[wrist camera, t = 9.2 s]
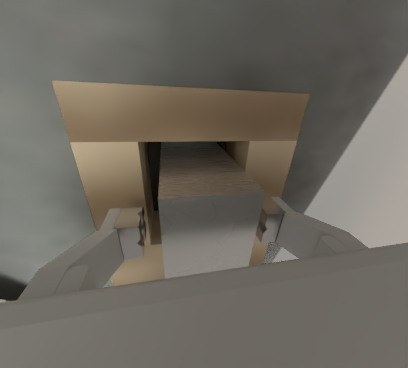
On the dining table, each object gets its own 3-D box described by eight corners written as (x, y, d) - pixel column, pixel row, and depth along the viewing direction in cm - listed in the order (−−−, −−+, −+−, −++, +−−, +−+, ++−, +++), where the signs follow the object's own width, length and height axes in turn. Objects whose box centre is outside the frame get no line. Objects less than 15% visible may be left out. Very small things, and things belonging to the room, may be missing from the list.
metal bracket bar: (161, 141, 13) (158, 199, 6) (214, 141, 14) (265, 192, 7) (165, 199, 15) (166, 289, 8) (210, 196, 16) (245, 277, 9)
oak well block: (88, 83, 11) (51, 80, 7) (271, 92, 13) (310, 93, 9) (131, 279, 19) (123, 321, 15) (238, 263, 21) (253, 298, 18)
